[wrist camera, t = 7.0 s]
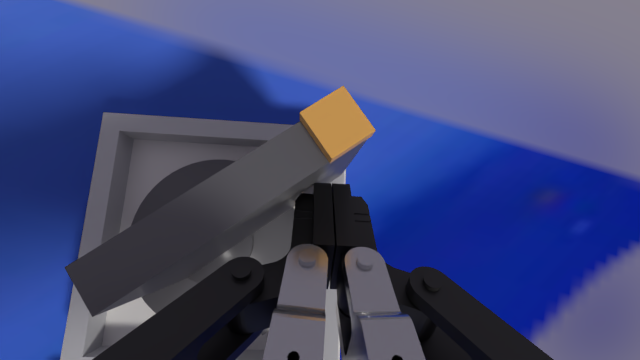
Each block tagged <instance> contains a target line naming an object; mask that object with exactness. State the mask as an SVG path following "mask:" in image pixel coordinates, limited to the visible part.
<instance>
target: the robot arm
mask: <svg viewBox="0 0 640 360" xmlns="http://www.w3.org/2000/svg"><path fill="white" fill-rule="evenodd" d="M329 280H330V289H337V302H336V316H337V324H338V332H339V339H340V347H341V355H342V360H553V359H552V358H551V357H549V356H548V355H547V354H546V353H544V352H543V351H542V350H540V349H539V348H538V347H537V346H535V345H534V344H533V343H532V342H530V341H529V340H528V339H526V338H525V337H524V336H523V335H521V334H520V333H519V332H517V331H516V330H515V329H514V328H512V327H511V326H510V325H508V324H507V323H506V322H505V321H503V320H502V319H501V318H500V317H498V316H497V315H496V314H494V313H493V312H492V311H491V310H489V309H488V308H487V307H485V306H484V305H483V304H482V303H480V302H479V301H478V300H476V299H475V298H474V297H473V296H471V295H470V294H469V293H467V292H466V291H465V290H464V289H462V288H461V287H460V286H459V285H457V284H456V283H455V282H453V281H452V280H451V279H450V278H448V277H447V276H446V275H444V274H443V273H442V272H440V271H438V270H436V269H434V268H431V267H418V268H416V269H414V270H413V271H412V272H411V273H408V272H405V271H402V270H399V269H396V268H393V267H391V266H390V265H388V264H387V263H385V261H384V259H383V257H382V256H381V255H380V254H379V253H378V252H377V248H376V243H375V239H374V234H373V229H372V224H371V219H370V216H369V209H368V205H367V204H366V202H365V201H364V200H363V199H362V197H355V196H351V190H350V185H349V184H335V183H332V186H331V183H319V182H316V183H314V189H313V194H305V193H301V194H300V195H299V197H298V198H297V199H296V201H295V209H294V219H293V229H292V240H291V247H290V250H289V252H288V253H287V255H286V256H284V257H283V258H282V259H280V260H278V261H276V262H272V263H268V264H264V265H262V264H261V263H260V262H259V261H258V260H256V259H254V258H251V257H237V258H234V259H232V260H230V261H228V262H227V263H225V264H224V265H223V266H221V267H220V268H218V269H217V270H216V271H214V272H213V273H211V274H210V275H209V276H207V277H206V278H205V279H203V280H202V281H200V282H199V283H198V284H196V285H195V286H193V287H192V288H191V289H189V290H188V291H186V292H185V293H184V294H182V295H181V296H180V297H178V298H177V299H175V300H174V301H173V302H171V303H170V304H168V305H167V306H166V307H164V308H163V309H162V310H160V311H159V312H157V313H156V314H155V315H153V316H152V317H150V318H149V319H148V320H146V321H145V322H144V323H142V324H141V325H139V326H138V327H137V328H135V329H134V330H132V331H131V332H130V333H128V334H127V335H125V336H124V337H123V338H121V339H120V340H119V341H117V342H116V343H114V344H113V345H112V346H110V347H109V348H107V349H106V350H105V351H103V352H102V353H101V354H99V355H98V356H96V357H95V358H94V359H92V360H236V359H237V358H238V357H239V356H240V355H241V354H242V353H243V352H244V351H245V350H246V349H247V348H248V347H249V346H250V345H251V344H252V343H253V341H254V340H255V339H256V338H257V337H258V336H259V335H260V334H261V333H262V332H263V330H264V329H267V328H269V333H268V337H267V342H266V347H265V351H264V356H263V360H323V354H324V338H325V321H326V314H325V302H326V289H328V287H329Z"/></svg>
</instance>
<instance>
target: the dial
mask: <svg viewBox="0 0 640 360" xmlns="http://www.w3.org/2000/svg"><path fill="white" fill-rule="evenodd" d="M375 131H376V130H375V129H374V127H373V126H372V125H371V123H370V122H369V120H368V119H367V118H366V116H365V115H364V113H363V112H362V111H361V109H360V108H359V107H358V105H357V104H356V102H355V101H354V100H353V98H352V97H351V95H350V94H349V93H348V91H347V90H346V88H345V87H344V86H342V87H340V88H339V89H337V90H335V91H334V92H332V93H331V94H329V95H327V96H326V97H324V98H322V99H321V100H319V101H318V102H316V103H314V104H313V105H311V106H309V107H308V108H306V109H305V110H303V111H301V112H300V122H298V123H296V124H295V125H293V126H292V127H290V128H288V129H287V130H285V131H284V132H282V133H280V134H279V135H277V136H276V137H274V138H272V139H271V140H269V141H267V142H266V143H264V144H263V145H261V146H259V147H258V148H256V149H255V150H253V151H251V152H250V153H248V154H246V155H245V156H243V157H242V158H240V159H238V160H237V161H232V160H218V159H214V160H205V161H200V162H196V163H192V164H190V165H187V166H184V167H182V168H180V169H178V170H176V171H174V172H172V173H171V174H169V175H168V176H167V177H165V178H164V179H162V180H161V181H160V182H159V183H158V184H157V185H156V186H154V188H153V189H152V190H151V191H150V192H149V193H148V194H147V196H146V197H145V198H144V200H143V201H142V203H141V204H140V206H139V208H138V210H137V212H136V214H135V216H134V219H133V222H132V224H131V226H130V227H129V228H127V229H126V230H124V231H122V232H121V233H119V234H118V235H116V236H114V237H113V238H111V239H109V240H108V241H106V242H105V243H103V244H101V245H100V246H98V247H97V248H95V249H93V250H92V251H90V252H88V253H87V254H85V255H84V256H82V257H80V258H79V259H77V260H76V261H74V262H72V263H71V264H69V265H68V266H66V267H65V269H66V271H67V273H68V275H69V276H70V278H71V280H72V282H73V284H74V285H75V287H76V289H77V291H78V292H79V294H80V296H81V298H82V300H83V301H84V303H85V305H86V307H87V308H88V310H89V312H90V314H91V316H92V317H94V316H96V315H99V314H101V313H104V312H106V311H108V310H111V309H113V308H116V307H118V306H121V305H123V304H126V303H128V302H130V301H133V300H135V299H138V298H140V297H142V299H143V300H144V302H145V303H146V304H147V305H148V306H149V307H150V308H151V309H152V310H153V311H154V312H155V313H157V312H159V311H160V310H162V309H163V308H164V307H166V306H167V305H168V304H170V303H171V302H173V301H174V300H175V299H177V298H178V297H180V296H181V295H182V294H184V293H185V292H186V291H188V290H189V289H191V288H192V287H193V286H195V285H196V284H198V283H199V282H200V281H202V280H203V279H205V278H206V277H207V276H209V275H210V274H211V273H213V272H214V271H216V270H217V269H218V268H220V267H221V266H223V265H224V264H225V263H227V262H228V261H230V260H232V259H234V258H237V257H251V258H254V259H256V260H258V261H259V262H260V263H261V264H262V265H264V264H268V263H272V262H276V261H278V260H280V259H282V258H283V257H284V256H286V255H287V253H288V252H289V250H290V247H291V240H292V229H293V219H294V206H295V201H296V199H297V198H298V197H299V195H300V194H301V193H305V194H313V189H314V183H316V182H319V183H330V182H332V181H333V180H335V179H336V178H338V177H339V176H341V175H342V173H343V172H344V171H345V169H346V168H347V166H348V165H349V164H350V162H351V161H352V160H353V158H354V157H355V155H356V154H357V153H358V151H359V150H360V149H361V147H362V146H363V144H364V143H365V142H366V140H367V139H368V138H370V137H371V136H372V135H373V133H374V132H375Z"/></svg>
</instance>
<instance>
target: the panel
mask: <svg viewBox="0 0 640 360" xmlns="http://www.w3.org/2000/svg"><path fill="white" fill-rule="evenodd" d="M292 126H293V125H287V124H272V123H257V122H242V121H227V120H212V119H197V118H182V117H167V116H152V115H137V114H122V113H107V112H103V118H102V123H101V129H100V135H99V140H98V146H97V152H96V158H95V163H94V169H93V175H92V181H91V186H90V192H89V198H88V203H87V209H86V215H85V221H84V226H83V232H82V238H81V243H80V249H79V255H78V259H79V258H80V257H82V256H84V255H85V254H87V253H88V252H90V251H92V250H93V249H95V248H97V247H98V246H100V245H101V244H103V243H105V242H106V241H108V240H109V239H111V238H113V237H114V236H116V235H118V234H119V233H121V232H122V231H124V230H126V229H127V228H129V227H130V226H131V224H132V222H133V219H134V216H135V214H136V212H137V210H138V208H139V206H140V204H141V203H142V201H143V200H144V198H145V197H146V196H147V194H148V193H149V192H150V191H151V190H152V189H153V188H154V186H156V185H157V184H158V183H159V182H160V181H161V180H162V179H164V178H165V177H167V176H168V175H169V174H171V173H172V172H174V171H176V170H178V169H180V168H182V167H184V166H187V165H190V164H192V163H196V162H200V161H205V160H214V159H218V160H232V161H237V160H238V159H240V158H242V157H243V156H245V155H246V154H248V153H250V152H251V151H253V150H255V149H256V148H258V147H259V146H261V145H263V144H264V143H266V142H267V141H269V140H271V139H272V138H274V137H276V136H277V135H279V134H280V133H282V132H284V131H285V130H287V129H288V128H290V127H292ZM345 177H346V169H345V171H344V172H343V173H342V175H341V176H339V177H338V178H336V179H335V180H333V181H332V182H330V183H331V186H332V183H335V184H345ZM294 209H295V206H294ZM336 302H337V289H330V280H329V287H328V289H326V302H325V314H326V321H325V338H324V354H323V360H339V358H340V339H339V332H338V324H337V316H336ZM155 314H156V313H155V312H154V311H153V310H152V309H151V308H150V307H149V306H148V305H147V304H146V303H145V302H144V300H143V299H142V297H140V298H138V299H135V300H133V301H130V302H128V303H126V304H123V305H121V306H118V307H116V308H113V309H111V310H108V311H106V312H104V313H101V314H99V315H96V316H94V317H92V316H91V314H90V312H89V310H88V308H87V307H86V305H85V303H84V301H83V300H82V298H81V296H80V294H79V292H78V291H77V289H76V287H75V285H74V284H73V289H72V295H71V301H70V306H69V312H68V318H67V324H66V329H65V335H64V341H63V346H62V352H61V358H60V360H92V359H94V358H95V357H96V356H98V355H99V354H101V353H102V352H103V351H105V350H106V349H107V348H109V347H110V346H112V345H113V344H114V343H116V342H117V341H119V340H120V339H121V338H123V337H124V336H125V335H127V334H128V333H130V332H131V331H132V330H134V329H135V328H137V327H138V326H139V325H141V324H142V323H144V322H145V321H146V320H148V319H149V318H150V317H152V316H153V315H155ZM268 333H269V328H267V329H264V330H263V332H262V333H261V334H260V335H259V336H258V337H257V338H256V339H255V340H254V341H253V343H252V344H251V345H250V346H249V347H248V348H247V349H246V350H245V351H244V352H243V353H242V354H241V355H240V356H239V357H238V358H237V359H236V360H263V356H264V351H265V347H266V342H267V337H268Z"/></svg>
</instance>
